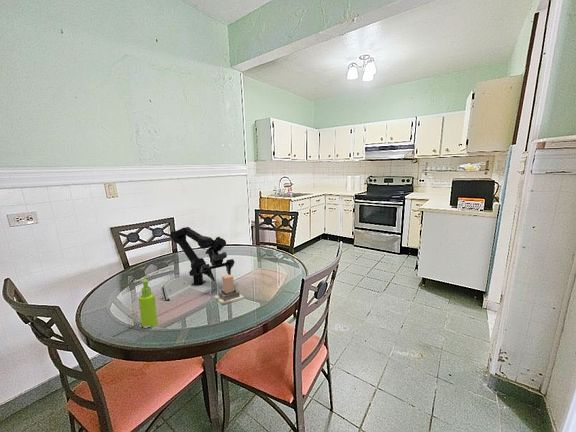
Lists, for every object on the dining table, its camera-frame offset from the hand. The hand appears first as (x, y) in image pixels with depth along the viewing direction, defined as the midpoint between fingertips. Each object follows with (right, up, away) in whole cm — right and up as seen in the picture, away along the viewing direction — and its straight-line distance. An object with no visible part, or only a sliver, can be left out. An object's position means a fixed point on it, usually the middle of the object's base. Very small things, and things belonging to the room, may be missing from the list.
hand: (222, 279), depth 138 cm
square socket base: (+5, -9, -6) cm, 12 cm away
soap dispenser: (-24, -13, -30) cm, 40 cm away
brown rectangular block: (+5, -8, -6) cm, 11 cm away
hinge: (-26, -10, +2) cm, 28 cm away
